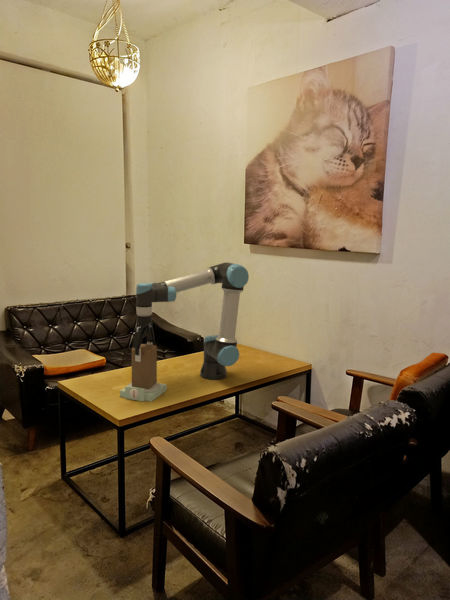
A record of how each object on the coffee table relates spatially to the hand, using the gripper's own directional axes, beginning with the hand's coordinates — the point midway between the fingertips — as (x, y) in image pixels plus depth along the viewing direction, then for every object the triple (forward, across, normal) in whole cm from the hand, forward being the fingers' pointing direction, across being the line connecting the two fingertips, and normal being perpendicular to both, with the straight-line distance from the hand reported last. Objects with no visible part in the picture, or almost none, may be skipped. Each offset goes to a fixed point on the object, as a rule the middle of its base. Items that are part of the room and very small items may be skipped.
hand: (144, 358), depth 225 cm
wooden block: (+14, 0, 0) cm, 14 cm away
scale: (+18, 0, 0) cm, 18 cm away
